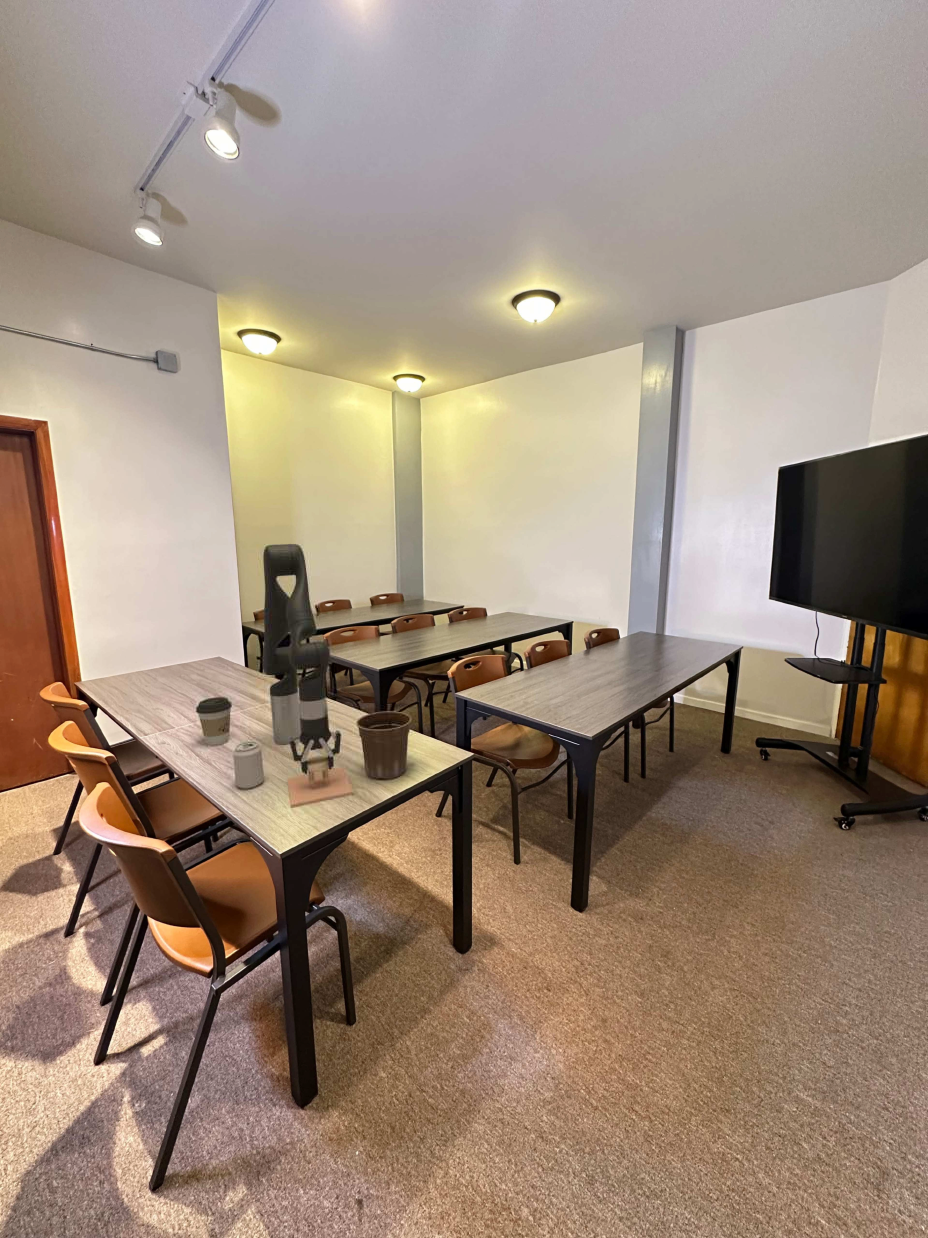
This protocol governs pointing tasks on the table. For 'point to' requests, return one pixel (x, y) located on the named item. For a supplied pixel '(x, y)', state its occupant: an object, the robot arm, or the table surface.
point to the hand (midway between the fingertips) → (317, 770)
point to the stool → (318, 768)
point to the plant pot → (384, 743)
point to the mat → (318, 788)
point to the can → (248, 764)
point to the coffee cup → (215, 720)
